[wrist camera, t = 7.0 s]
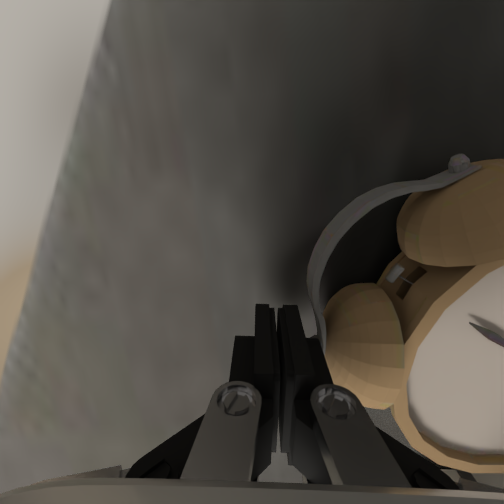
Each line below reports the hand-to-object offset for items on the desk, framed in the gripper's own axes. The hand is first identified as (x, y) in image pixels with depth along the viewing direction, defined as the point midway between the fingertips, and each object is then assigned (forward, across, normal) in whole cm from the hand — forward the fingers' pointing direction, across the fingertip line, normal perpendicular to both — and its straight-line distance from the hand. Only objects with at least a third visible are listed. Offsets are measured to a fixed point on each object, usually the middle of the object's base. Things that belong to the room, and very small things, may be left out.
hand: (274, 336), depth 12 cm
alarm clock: (+2, -8, -1) cm, 8 cm away
